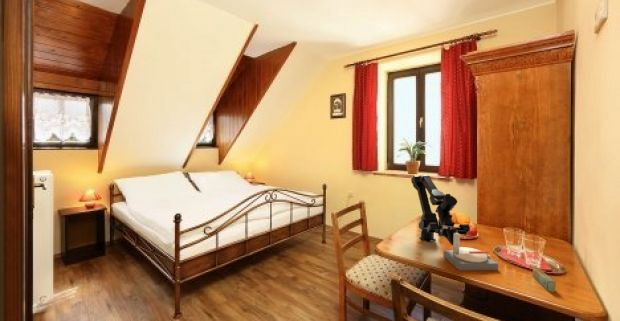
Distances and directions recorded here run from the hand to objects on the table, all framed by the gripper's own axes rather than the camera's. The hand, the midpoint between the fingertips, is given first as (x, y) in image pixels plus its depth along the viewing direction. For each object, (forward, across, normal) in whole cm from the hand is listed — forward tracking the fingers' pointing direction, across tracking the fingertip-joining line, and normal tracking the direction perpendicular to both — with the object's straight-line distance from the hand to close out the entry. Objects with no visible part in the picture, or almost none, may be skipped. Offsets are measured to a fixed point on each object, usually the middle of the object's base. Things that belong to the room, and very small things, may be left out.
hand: (452, 245), depth 131 cm
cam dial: (+3, -8, -3) cm, 9 cm away
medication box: (+18, -28, +7) cm, 34 cm away
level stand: (+6, -8, -6) cm, 11 cm away
